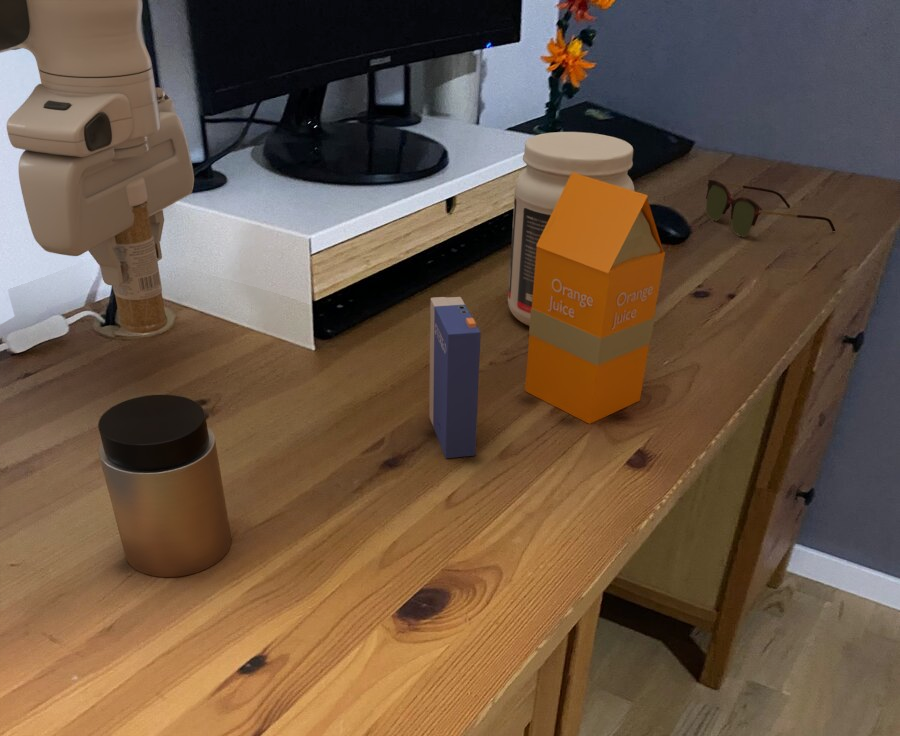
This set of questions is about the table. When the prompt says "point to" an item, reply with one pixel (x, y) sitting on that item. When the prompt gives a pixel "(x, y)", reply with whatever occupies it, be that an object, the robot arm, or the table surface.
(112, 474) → the flask
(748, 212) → the sunglasses
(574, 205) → the orange juice
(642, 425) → the table surface
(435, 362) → the walkman
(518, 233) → the supplement tub
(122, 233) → the sprinkles bottle
